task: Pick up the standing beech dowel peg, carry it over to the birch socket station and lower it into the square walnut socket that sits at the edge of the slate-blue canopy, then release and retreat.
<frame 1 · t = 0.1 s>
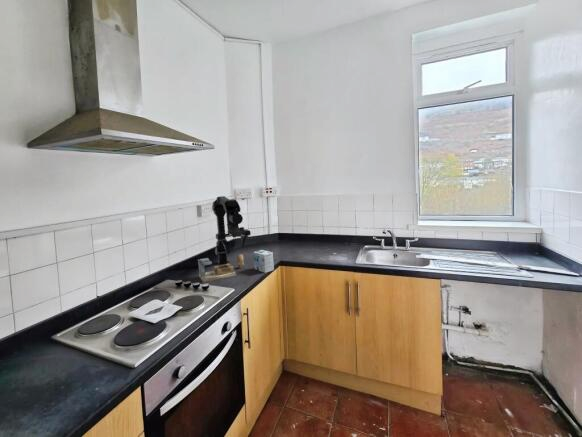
hand: (234, 249, 158), 15 cm above the worktop, fingers open, 9 cm apart
light bulb box: (264, 270, 165), on the worktop
awning socket: (217, 275, 159), on the worktop
peg: (241, 267, 171), on the worktop
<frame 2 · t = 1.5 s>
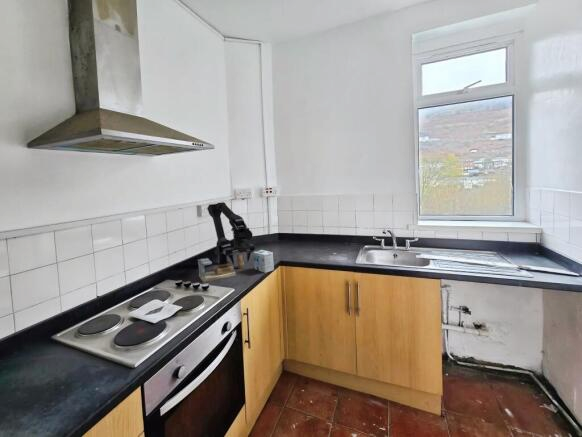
hand: (240, 263, 171), 3 cm above the worktop, fingers open, 9 cm apart
nothing on the worktop moved.
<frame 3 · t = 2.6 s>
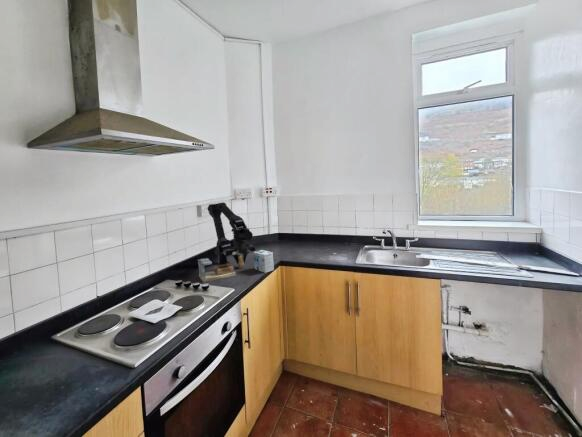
hand: (240, 263, 171), 3 cm above the worktop, fingers closed on peg, 4 cm apart
peg: (241, 267, 171), on the worktop, touching gripper
everything else where it was.
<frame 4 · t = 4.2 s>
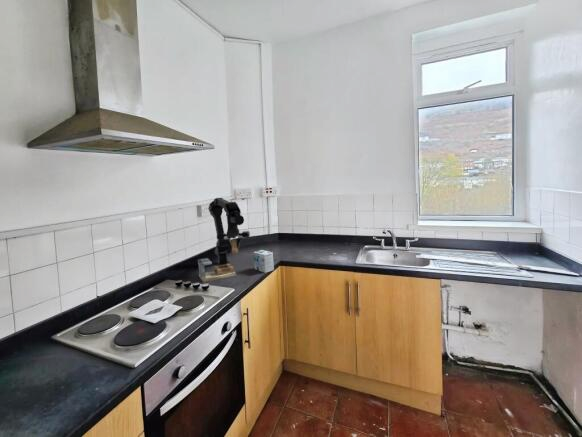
hand: (234, 249, 166), 13 cm above the worktop, fingers closed on peg, 4 cm apart
peg: (235, 253, 167), point 10 cm above the worktop, touching gripper
everything else where it was.
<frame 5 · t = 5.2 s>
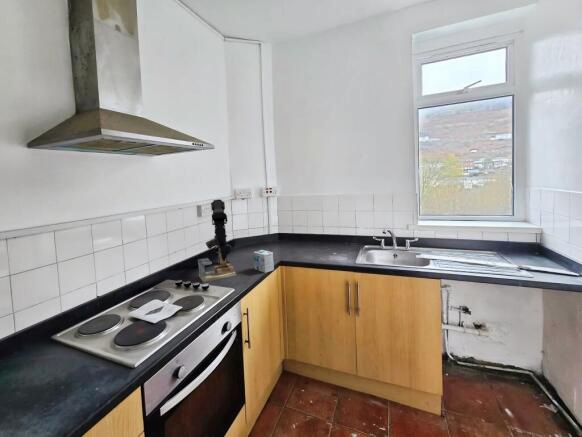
hand: (223, 260, 160), 8 cm above the worktop, fingers closed on peg, 4 cm apart
peg: (223, 264, 160), point 6 cm above the worktop, touching gripper
everything else where it was.
when the fingers open (5 cm above the worktop, at t = 6.0 s): peg drops 1 cm, resting on awning socket.
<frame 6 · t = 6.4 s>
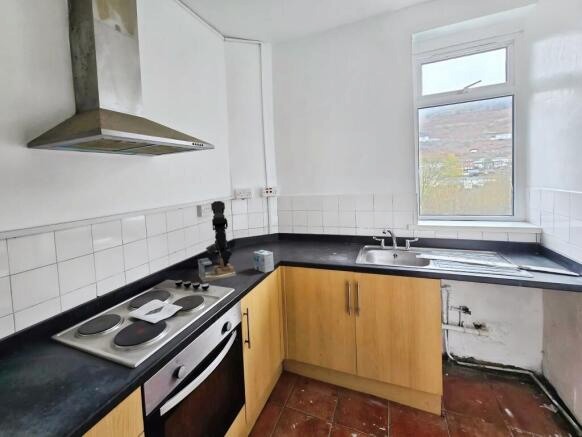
hand: (223, 265, 160), 5 cm above the worktop, fingers open, 8 cm apart
peg: (224, 271, 161), point 2 cm above the worktop, touching awning socket
everything else where it was.
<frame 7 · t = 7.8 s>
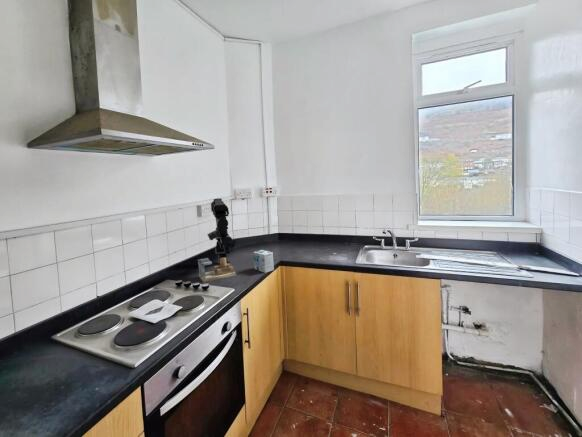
hand: (224, 251, 165), 12 cm above the worktop, fingers open, 9 cm apart
nothing on the worktop moved.
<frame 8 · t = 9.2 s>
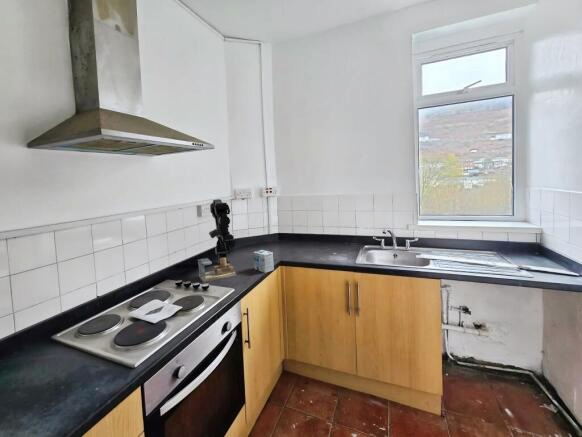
hand: (225, 249, 168), 13 cm above the worktop, fingers open, 9 cm apart
nothing on the worktop moved.
at the end: peg 0.0 cm from the target spot on the awning socket, point 1.5 cm above the awning socket's base; peg tilted 0°; the gripper is holding nothing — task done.
